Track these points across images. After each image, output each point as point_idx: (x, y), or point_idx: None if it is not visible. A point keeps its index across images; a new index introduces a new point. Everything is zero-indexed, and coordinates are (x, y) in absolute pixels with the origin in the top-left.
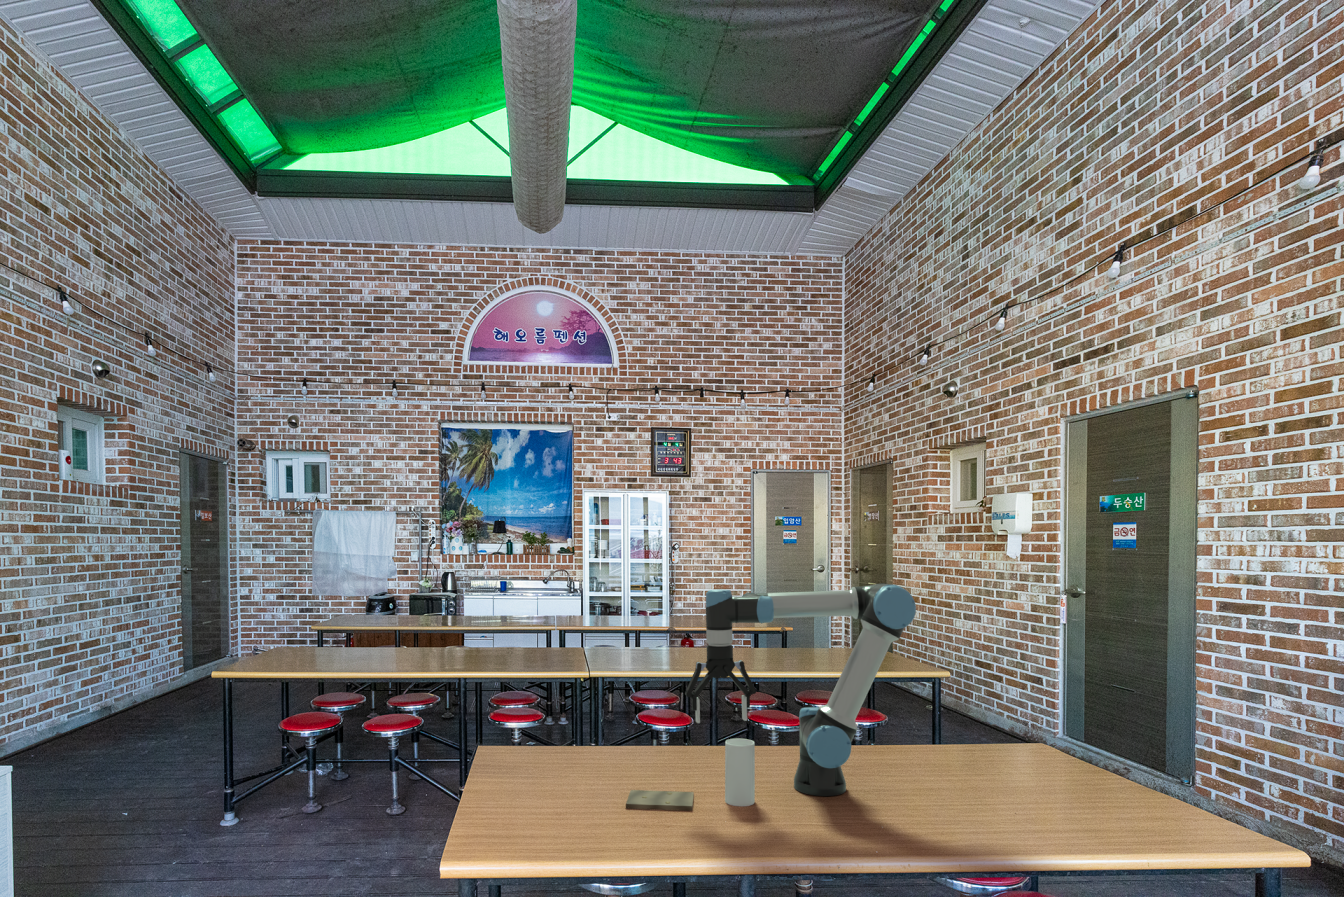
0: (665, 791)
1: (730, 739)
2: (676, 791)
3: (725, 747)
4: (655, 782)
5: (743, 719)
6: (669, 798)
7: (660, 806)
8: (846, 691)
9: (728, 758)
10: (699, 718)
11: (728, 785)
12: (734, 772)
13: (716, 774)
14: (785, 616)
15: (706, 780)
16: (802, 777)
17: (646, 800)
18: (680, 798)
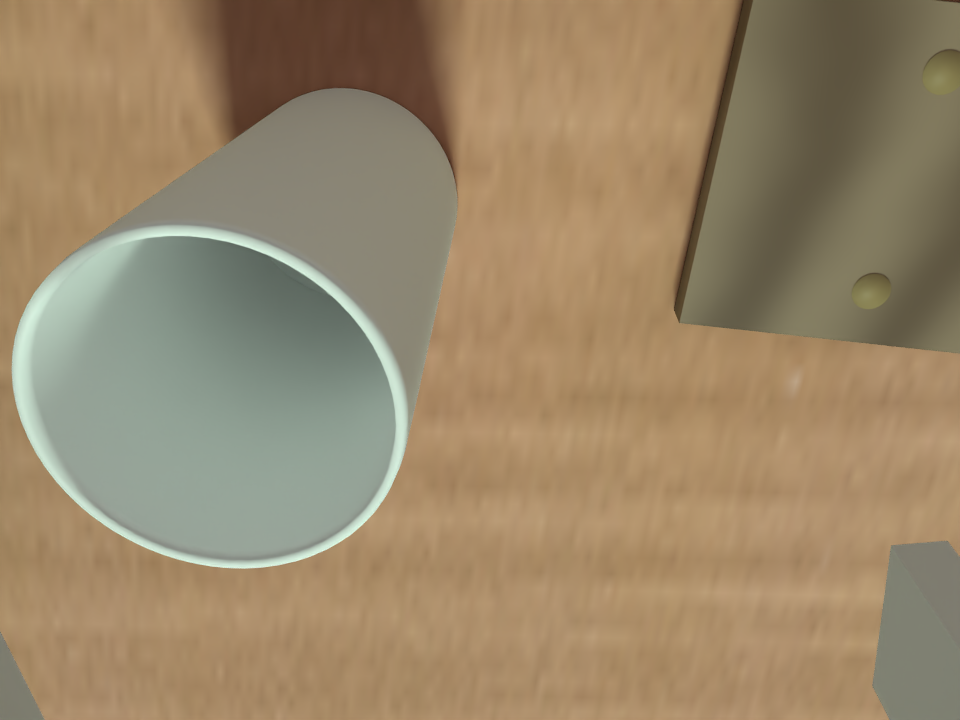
0: (889, 336)
1: (333, 535)
2: (805, 336)
3: (414, 382)
4: (875, 574)
5: (18, 683)
6: (902, 177)
7: None
8: None
9: (396, 253)
10: (946, 610)
11: (425, 176)
12: (353, 161)
13: (461, 688)
14: None
15: (536, 598)
16: None
17: None
18: (813, 176)
